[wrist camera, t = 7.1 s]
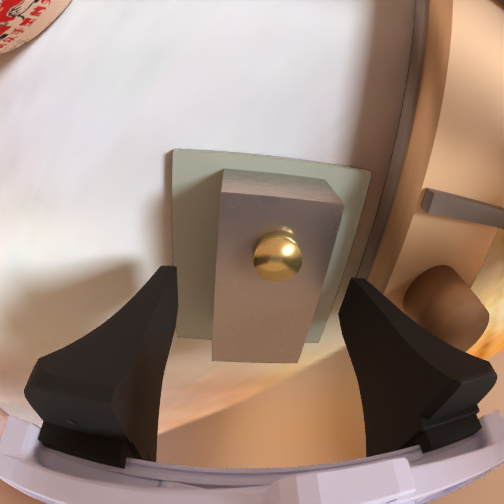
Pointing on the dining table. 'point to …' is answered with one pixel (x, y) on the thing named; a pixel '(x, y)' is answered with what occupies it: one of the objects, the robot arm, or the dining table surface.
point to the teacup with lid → (26, 20)
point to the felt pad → (207, 222)
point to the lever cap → (270, 263)
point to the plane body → (444, 172)
